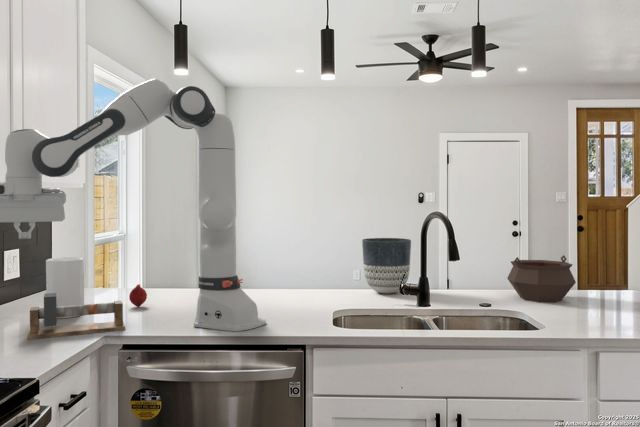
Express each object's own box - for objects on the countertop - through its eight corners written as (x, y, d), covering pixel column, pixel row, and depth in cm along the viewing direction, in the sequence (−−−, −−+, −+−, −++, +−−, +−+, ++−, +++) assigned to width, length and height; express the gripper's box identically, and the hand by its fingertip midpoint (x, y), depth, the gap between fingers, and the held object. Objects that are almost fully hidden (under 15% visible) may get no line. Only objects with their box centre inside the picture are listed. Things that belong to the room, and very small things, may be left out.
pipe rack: (122, 324, 166) (122, 299, 165) (125, 329, 158) (124, 304, 158) (29, 332, 155) (29, 306, 155) (27, 339, 148) (27, 311, 148)
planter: (409, 289, 228) (409, 238, 228) (412, 297, 209) (412, 241, 208) (362, 288, 230) (362, 237, 230) (361, 296, 211) (361, 241, 210)
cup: (91, 312, 183) (90, 257, 182) (68, 319, 172) (67, 261, 172) (63, 310, 186) (62, 256, 185) (38, 317, 175) (37, 260, 174)
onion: (141, 308, 189) (141, 285, 189) (126, 308, 190) (126, 285, 190) (149, 305, 194) (149, 283, 194) (135, 305, 196) (134, 282, 195)
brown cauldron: (536, 307, 190) (536, 260, 190) (493, 295, 213) (494, 253, 213) (590, 302, 198) (591, 257, 197) (544, 292, 220) (544, 251, 220)
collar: (56, 321, 157) (56, 292, 157) (56, 325, 152) (55, 296, 151) (45, 322, 156) (44, 293, 156) (44, 326, 150) (43, 297, 150)
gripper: (65, 188, 158) (66, 236, 158) (-17, 188, 149) (-16, 239, 149) (65, 188, 152) (66, 238, 152) (-21, 188, 143) (-20, 240, 144)
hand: (24, 238), depth 151 cm, fingers closed
